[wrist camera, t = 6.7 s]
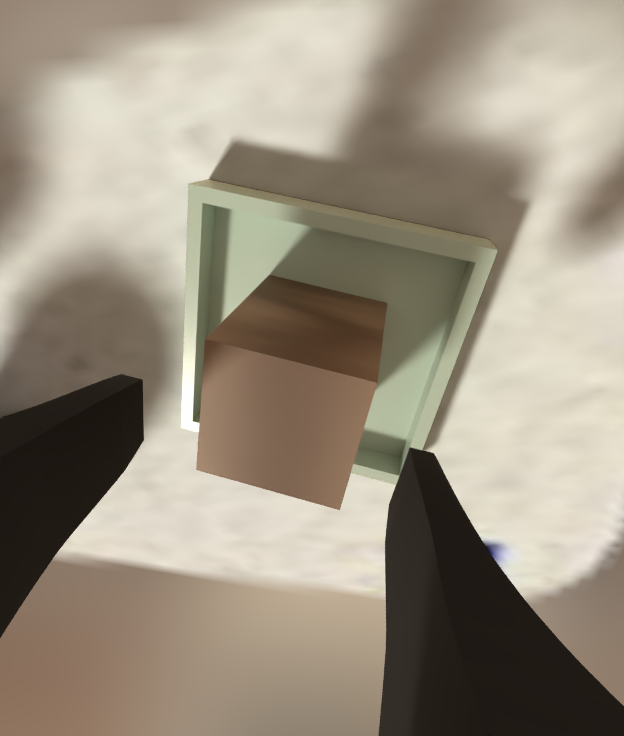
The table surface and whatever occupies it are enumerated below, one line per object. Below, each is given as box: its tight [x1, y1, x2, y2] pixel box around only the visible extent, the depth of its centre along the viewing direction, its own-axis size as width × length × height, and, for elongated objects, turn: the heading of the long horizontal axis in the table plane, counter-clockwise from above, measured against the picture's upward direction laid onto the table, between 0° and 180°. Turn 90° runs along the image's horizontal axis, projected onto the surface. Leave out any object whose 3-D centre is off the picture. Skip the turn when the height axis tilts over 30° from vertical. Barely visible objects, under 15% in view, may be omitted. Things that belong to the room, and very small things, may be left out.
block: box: [196, 275, 387, 510], centre depth 15 cm, size 4×4×6 cm
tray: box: [181, 179, 498, 485], centre depth 17 cm, size 10×10×2 cm
